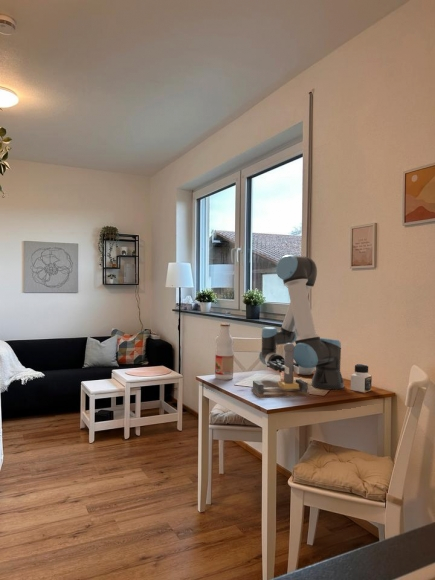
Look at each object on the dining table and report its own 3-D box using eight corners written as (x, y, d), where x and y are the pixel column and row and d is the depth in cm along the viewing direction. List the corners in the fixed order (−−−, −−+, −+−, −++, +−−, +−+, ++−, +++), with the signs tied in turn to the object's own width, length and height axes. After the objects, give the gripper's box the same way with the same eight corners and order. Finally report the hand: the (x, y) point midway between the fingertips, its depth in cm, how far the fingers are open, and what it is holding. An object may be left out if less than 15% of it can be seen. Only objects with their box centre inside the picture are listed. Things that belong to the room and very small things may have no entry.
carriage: (292, 385, 197) (293, 341, 197) (298, 388, 190) (299, 343, 190) (278, 385, 196) (279, 341, 195) (284, 389, 189) (285, 343, 189)
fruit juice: (230, 380, 216) (231, 325, 215) (212, 379, 218) (213, 324, 218) (235, 376, 225) (236, 323, 224) (217, 375, 227) (218, 322, 227)
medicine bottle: (364, 392, 196) (365, 366, 196) (350, 390, 201) (350, 364, 201) (371, 390, 201) (372, 364, 201) (357, 387, 206) (357, 362, 206)
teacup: (313, 376, 230) (314, 361, 230) (293, 374, 233) (293, 360, 233) (316, 371, 243) (316, 357, 243) (297, 370, 246) (297, 356, 246)
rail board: (298, 389, 201) (298, 378, 201) (309, 395, 189) (309, 384, 189) (251, 390, 195) (251, 379, 195) (259, 397, 184) (259, 385, 184)
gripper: (291, 368, 212) (311, 378, 190) (258, 369, 209) (274, 379, 186) (291, 353, 212) (311, 362, 190) (258, 353, 209) (275, 362, 186)
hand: (293, 370), depth 188 cm, fingers closed on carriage, 4 cm apart
